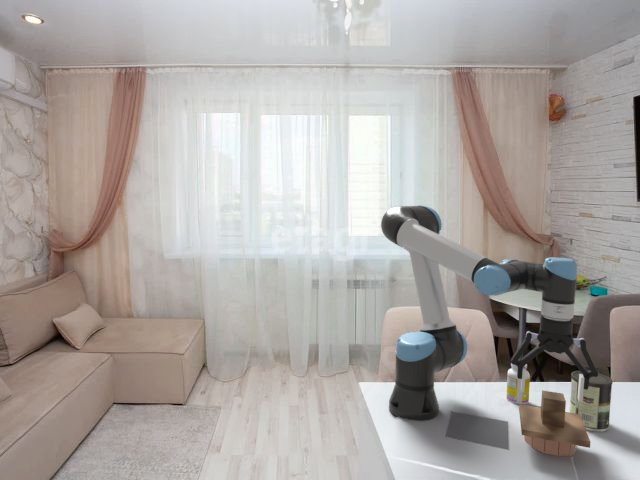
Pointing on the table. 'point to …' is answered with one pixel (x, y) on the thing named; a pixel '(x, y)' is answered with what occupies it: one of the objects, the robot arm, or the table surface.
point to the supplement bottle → (517, 386)
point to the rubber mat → (478, 430)
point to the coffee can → (592, 401)
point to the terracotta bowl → (550, 446)
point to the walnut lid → (553, 421)
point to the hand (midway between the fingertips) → (550, 395)
